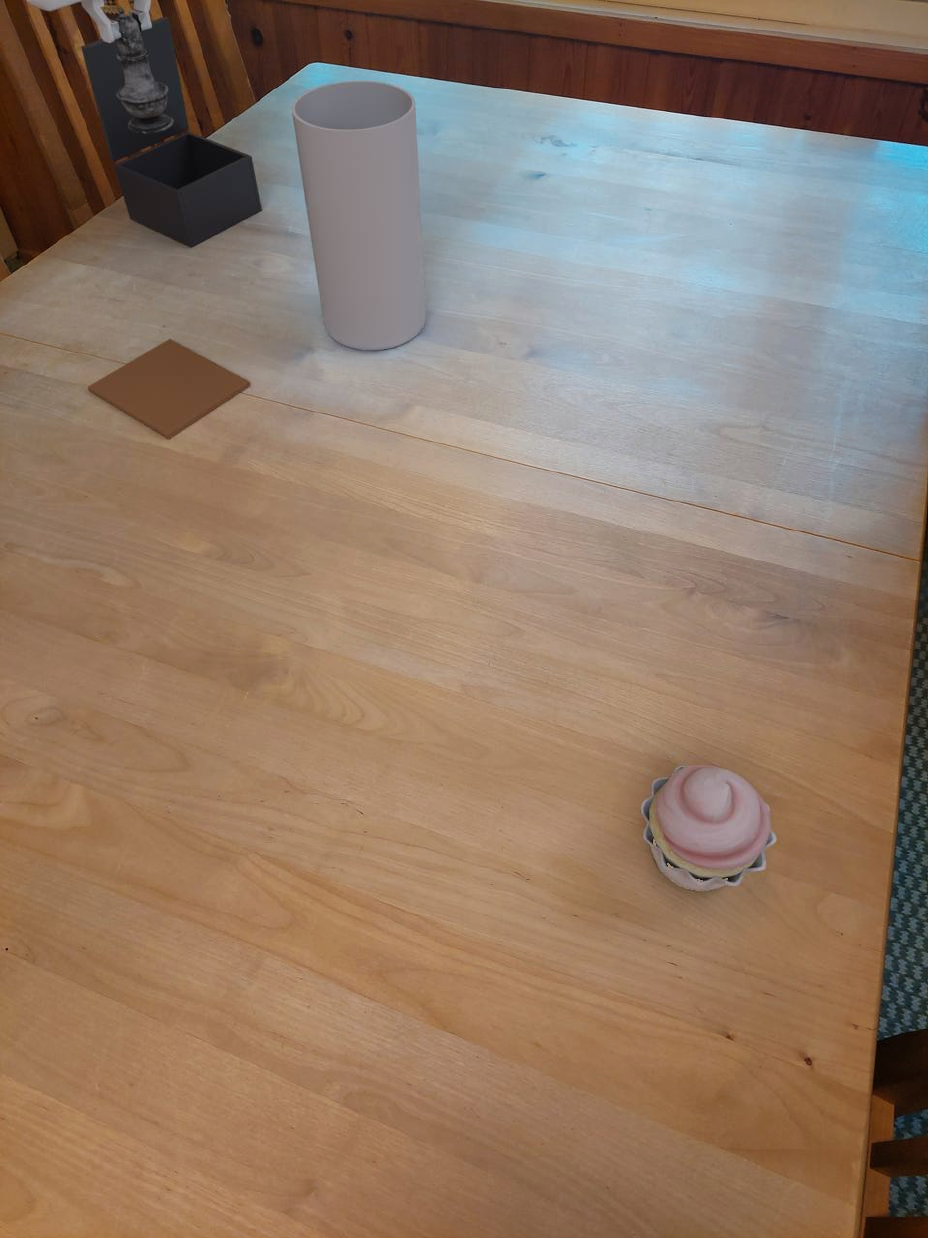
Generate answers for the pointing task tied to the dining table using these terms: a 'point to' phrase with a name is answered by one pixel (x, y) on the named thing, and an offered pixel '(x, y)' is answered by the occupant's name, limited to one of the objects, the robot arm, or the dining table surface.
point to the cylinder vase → (363, 210)
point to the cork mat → (169, 388)
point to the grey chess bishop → (140, 81)
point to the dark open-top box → (189, 188)
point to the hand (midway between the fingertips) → (127, 34)
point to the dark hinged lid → (111, 78)
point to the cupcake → (707, 827)
